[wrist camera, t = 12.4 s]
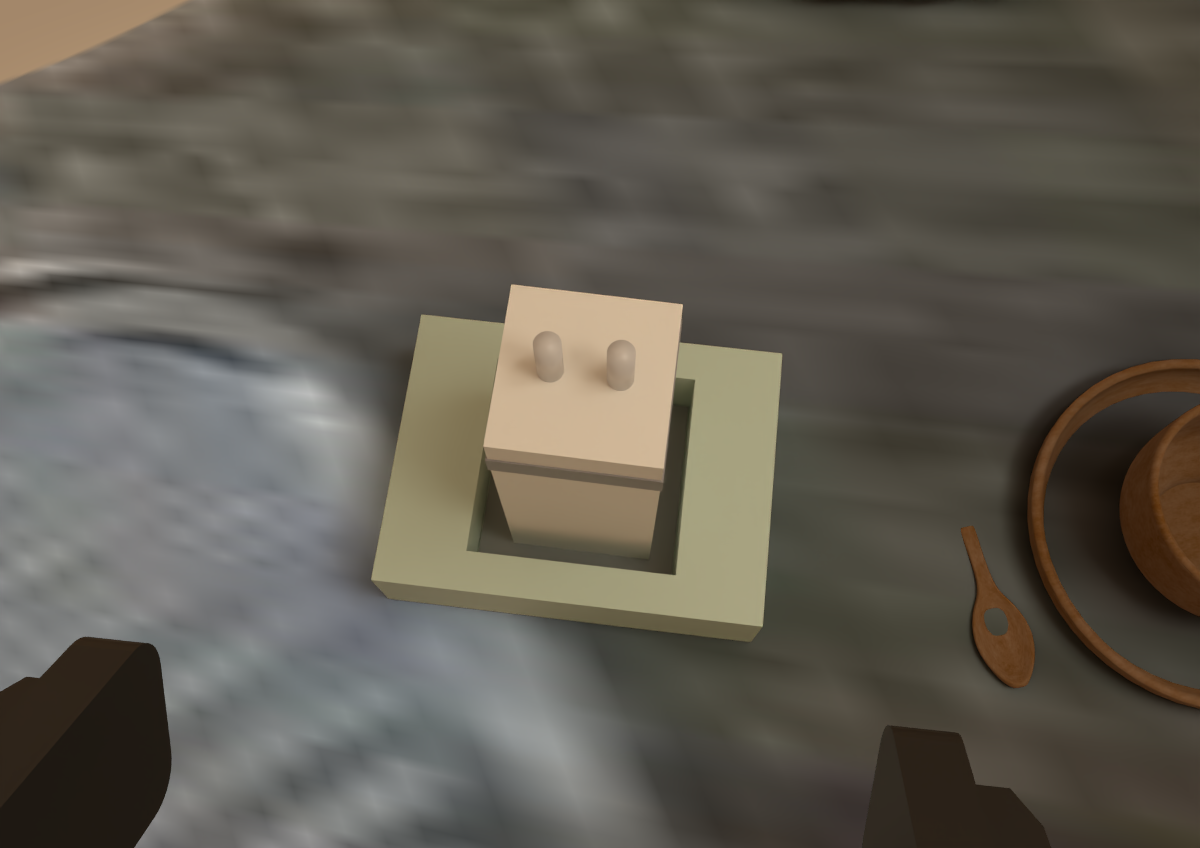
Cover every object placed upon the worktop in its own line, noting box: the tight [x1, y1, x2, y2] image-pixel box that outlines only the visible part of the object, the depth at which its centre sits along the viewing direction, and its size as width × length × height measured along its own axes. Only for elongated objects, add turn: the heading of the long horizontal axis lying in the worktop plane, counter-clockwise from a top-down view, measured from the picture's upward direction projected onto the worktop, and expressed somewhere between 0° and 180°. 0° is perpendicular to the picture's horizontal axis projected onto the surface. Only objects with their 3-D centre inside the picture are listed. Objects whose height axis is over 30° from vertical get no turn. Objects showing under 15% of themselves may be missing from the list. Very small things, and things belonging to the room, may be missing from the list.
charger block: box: [483, 285, 683, 560], centre depth 33 cm, size 5×5×12 cm
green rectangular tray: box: [371, 315, 782, 642], centre depth 37 cm, size 12×9×3 cm
